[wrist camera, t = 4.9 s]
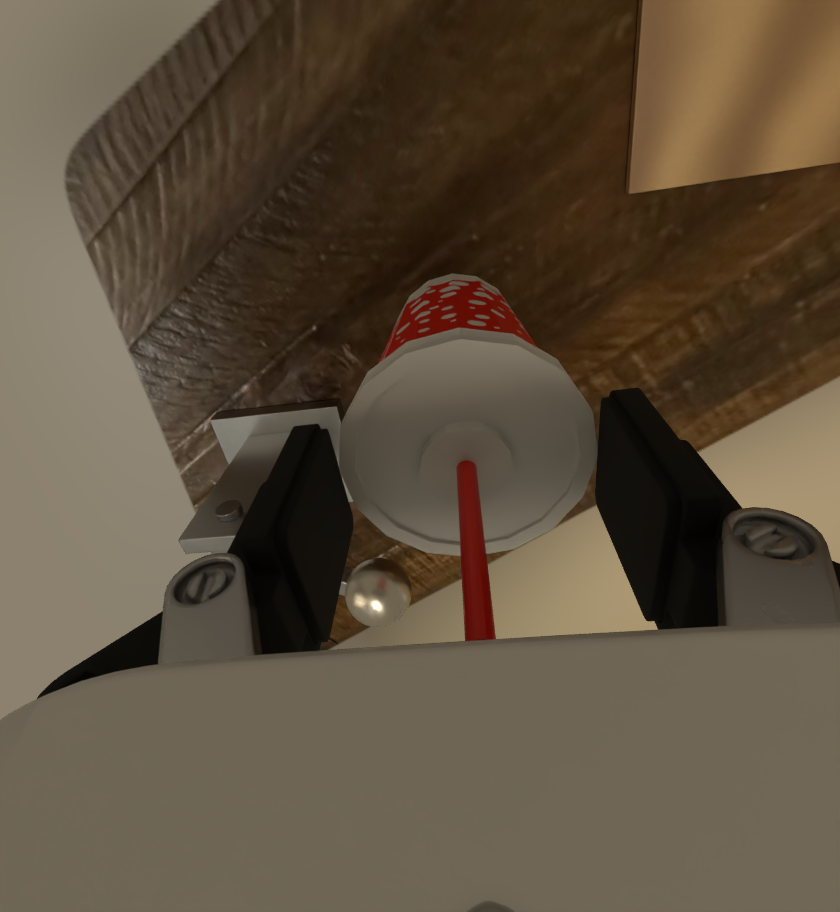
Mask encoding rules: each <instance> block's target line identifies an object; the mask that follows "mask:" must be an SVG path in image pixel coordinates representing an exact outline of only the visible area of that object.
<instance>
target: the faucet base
mask: <svg viewBox="0 0 840 912" xmlns="http://www.w3.org/2000/svg"><path fill="white" fill-rule="evenodd" d="M343 419H344V413H343V409H342V405H341V401H340V399H334V400H325V401H316V402H307V403H298V404H288V405H279V406H270V407H261V408H252V409H243V410H234V411H225V412H217V413H216V414H215V415H214V416H213V417H212V418H211V420H210V422H211V424H212V427H213V429H214V431H215V434H216V436H217V438H218V441H219V443H220V445H221V448H222V450H223V453H224V455H225V457H226V460H227V462H228V464H229V466H228V467H227V469H226V470H225V472H224V473H223V475H222V476H221V478H220V479H219V481H218V482H217V484H216V485H215V487H214V488H213V489H212V491H211V492H210V494H209V495H208V497H207V498H206V500H205V501H204V503H203V504H202V506H201V507H200V509H199V510H198V512H197V513H196V515H195V516H194V518H193V519H192V521H191V522H190V523H189V525H188V526H187V528H186V530H185V531H184V532H183V534H182V535H181V537H180V538H179V543H180V544H181V546H182V548H183V550H184V552H185V553H186V554H190V553H202V552H203V553H204V552H218V551H228V549H229V547H230V546H231V544H232V542H233V540H234V538H235V536H236V534H237V532H238V530H239V528H240V526H241V524H242V522H243V520H244V518H245V516H246V514H247V512H248V510H249V508H250V506H251V504H252V502H253V500H254V498H255V496H256V494H257V492H258V490H259V488H260V486H261V485H262V484H263V483H264V482H266V481H267V479H268V477H269V475H270V473H271V471H272V469H273V467H274V465H275V463H276V460H277V458H278V456H279V454H280V452H281V450H282V448H283V446H284V444H285V442H286V440H287V438H288V436H289V434H290V432H291V430H292V428H293V427H294V426H300V425H309V424H319V426H320V427H321V429H328V431H329V434H330V437H331V440H332V444H333V448H334V451H335V455H336V458H337V462H338V465H339V449H340V426H341V423H342V421H343ZM342 480H343V478H342ZM343 483H344V487H345V490H346V494H347V498H348V501H349V502H353V500H352V497H351V495H350V493H349V491H348V489H347V487H346V484H345V482H344V480H343Z"/></svg>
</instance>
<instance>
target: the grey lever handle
mask: <svg viewBox="0 0 840 912" xmlns="http://www.w3.org/2000/svg"><path fill="white" fill-rule="evenodd" d="M211 553H212V554H215V553H227V551H218V552H211ZM411 591H412V590H411V584H410V580H409V578H408V576H407V574H406V572H405V571H404V570H403V568H402V567H400V566H399V565H398V564H397V563H395V562H393V561H391V560H388V559H384V558H374V559H370V560H367V561H365V562H363V563H361V564H360V565H358V566H357V567H356V568H355V569H353V568H350V567H346V566H345V568H344V573H343V577H342V582H341V586H340V591H339V594H340V595H343V596H345V600H346V604H347V607H348V609H349V611H350V612H351V614H352V615H353V616H354V617H355V618H356V619H357V620H358V621H360V622H361V623H363V624H365V625H368V626H372V627H383V626H387V625H390V624H392V623H394V622H396V621H397V620H398V619H400V618H401V617H402V616H403V614H404V613H405V612H406V610H407V608H408V606H409V604H410V600H411Z"/></svg>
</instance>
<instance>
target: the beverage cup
mask: <svg viewBox="0 0 840 912" xmlns="http://www.w3.org/2000/svg"><path fill="white" fill-rule="evenodd" d="M597 457H598V452H597V443H596V434H595V426H594V417H593V411H592V410H591V408H590V406H589V405H588V403H587V402H586V400H585V399H584V397H583V396H582V394H581V393H580V392H579V390H578V389H577V387H576V386H575V384H574V383H573V381H572V380H571V378H570V377H569V376H568V374H567V373H566V371H565V370H564V368H563V367H562V366H561V364H560V363H559V361H558V360H557V359H556V358H554V357H553V356H551V355H549V354H547V353H546V352H544V351H542V350H540V349H539V348H537V346H536V345H535V343H534V342H533V340H532V339H531V337H530V336H529V334H528V333H527V331H526V330H525V328H524V327H523V326H522V324H521V323H520V321H519V320H518V318H517V317H516V315H515V314H514V312H513V311H512V309H511V308H510V306H509V305H508V303H507V302H506V300H505V299H504V298H503V296H502V295H501V293H500V292H499V290H498V289H497V288H495V287H494V286H492V285H490V284H488V283H487V282H485V281H483V280H482V279H480V278H478V277H477V276H468V275H460V274H449V275H446V276H442V277H439V278H435V279H432V280H429V281H427V282H426V283H425V284H424V285H422V286H421V287H420V288H419V289H418V290H416V291H415V292H414V293H413V294H411V295H410V296H409V298H408V300H407V302H406V304H405V306H404V308H403V310H402V311H401V313H400V315H399V317H398V320H397V322H396V324H395V326H394V329H393V331H392V333H391V336H390V338H389V340H388V343H387V345H386V347H385V350H384V352H383V354H382V357H381V359H380V361H379V363H378V365H376V366H375V367H374V368H372V369H371V370H370V371H368V372H367V374H366V376H365V378H364V380H363V382H362V384H361V386H360V387H359V389H358V391H357V393H356V395H355V397H354V399H353V401H352V403H351V405H350V406H349V408H348V410H347V413H346V415H345V417H344V419H343V421H342V423H341V426H340V449H339V469H340V473H341V476H342V478H343V480H344V482H345V484H346V487H347V489H348V491H349V493H350V495H351V497H352V500H353V502H354V504H355V506H356V508H357V509H358V510H359V511H360V512H362V513H363V514H364V515H365V516H366V517H367V518H368V519H369V520H370V521H371V522H372V523H374V524H375V525H376V526H377V527H378V528H379V529H380V530H381V531H382V532H383V533H384V534H386V535H387V536H389V537H391V538H393V539H396V540H398V541H401V542H403V543H405V544H408V545H410V546H412V547H415V548H417V549H419V550H422V551H424V552H427V553H436V554H446V555H456V556H461V570H462V589H463V609H464V626H465V641H475V640H492V639H496V636H495V627H494V618H493V609H492V601H491V592H490V583H489V574H488V565H487V556H486V554H489V553H494V552H500V551H505V550H510V549H515V548H517V547H519V546H520V545H522V544H524V543H526V542H528V541H530V540H532V539H534V538H536V537H538V536H540V535H541V534H543V533H545V532H547V531H549V530H551V529H553V528H554V527H555V526H556V525H557V524H558V523H559V522H560V521H561V520H562V519H563V518H564V516H565V515H566V514H567V513H568V512H569V511H570V510H571V509H572V508H573V507H574V506H575V505H576V504H577V503H578V502H579V500H580V499H581V498H582V497H583V496H584V493H585V490H586V488H587V485H588V482H589V479H590V477H591V474H592V471H593V468H594V466H595V463H596V460H597Z"/></svg>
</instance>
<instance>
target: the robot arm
mask: <svg viewBox="0 0 840 912" xmlns="http://www.w3.org/2000/svg"><path fill="white" fill-rule="evenodd" d="M595 497H596V503H597V507H598V509H599V512H600V514H601V516H602V519H603V521H604V524H605V526H606V528H607V531H608V533H609V535H610V538H611V540H612V543H613V545H614V547H615V549H616V552H617V554H618V557H619V559H620V561H621V564H622V566H623V569H624V571H625V573H626V576H627V578H628V580H629V583H630V585H631V587H632V590H633V592H634V595H635V597H636V599H637V602H638V604H639V606H640V608H641V611H642V613H643V616H644V618H645V619H646V620H647V621H655V623H656V626H657V628H658V630H644V631H627V632H610V633H592V634H574V635H557V636H541V637H525V638H510V639H509V638H508V639H492V640H475V641H459V642H444V643H428V644H413V645H397V646H381V647H367V648H352V649H337V650H323V651H319V650H320V645H321V642H327V641H328V640H329V637H330V633H331V628H332V623H333V619H334V614H335V609H336V605H337V600H338V596H339V591H340V586H341V582H342V577H343V573H344V568H345V563H346V559H347V554H348V549H349V545H350V540H351V536H352V531H353V516H352V512H351V508H350V505H349V501H348V498H347V494H346V490H345V487H344V483H343V480H342V476H341V473H340V469H339V465H338V462H337V458H336V455H335V451H334V448H333V444H332V440H331V437H330V434H329V431H328V429H321V427H320V426H319V424H309V425H300V426H294V427H293V428H292V430H291V432H290V434H289V436H288V438H287V440H286V442H285V444H284V446H283V448H282V450H281V452H280V454H279V456H278V458H277V460H276V463H275V465H274V467H273V469H272V471H271V473H270V475H269V477H268V479H267V481H266V482H264V483H263V484H262V485H261V486H260V488H259V490H258V492H257V494H256V496H255V498H254V500H253V502H252V504H251V506H250V508H249V510H248V512H247V514H246V516H245V518H244V520H243V522H242V524H241V526H240V528H239V530H238V532H237V534H236V536H235V538H234V540H233V542H232V544H231V546H230V547H229V549H228V551H227V553H215V554H211V555H207V556H204V557H201V558H199V559H197V560H195V561H193V562H191V563H190V564H188V565H187V566H185V567H184V568H182V569H181V570H180V571H179V572H178V573H177V574H176V575H175V576H174V577H173V578H172V580H171V581H170V582H169V584H168V585H167V589H166V592H165V596H164V607H163V611H162V612H161V613H159V614H158V615H156V616H154V617H153V618H151V619H150V620H148V621H146V622H145V623H143V624H142V625H140V626H138V627H137V628H135V629H134V630H132V631H130V632H129V633H127V634H126V635H124V636H122V637H121V638H119V639H118V640H116V641H115V642H113V643H111V644H110V645H108V646H106V647H105V648H103V649H102V650H100V651H99V652H97V653H95V654H94V655H92V656H91V657H89V658H88V659H86V660H84V661H83V662H81V663H79V664H78V665H76V666H75V667H73V668H71V669H70V670H68V671H67V672H65V673H64V674H63V675H61V676H60V677H58V678H57V679H56V680H54V681H53V682H52V683H51V684H50V685H49V686H48V687H47V688H46V689H45V690H44V691H43V692H42V693H41V694H40V695H39V696H38V698H37V699H36V700H34V701H32V702H30V703H28V704H26V705H24V706H22V707H21V708H19V709H17V710H15V711H14V712H12V713H10V714H8V715H7V716H5V717H4V718H2V719H1V720H0V912H840V564H839V563H836V562H834V561H832V560H831V556H830V553H829V550H828V546H827V543H826V541H825V539H824V538H823V536H822V534H821V533H820V532H819V531H818V530H817V529H816V528H815V527H813V526H812V525H811V524H809V523H808V522H806V521H804V520H803V519H801V518H799V517H797V516H794V515H792V514H789V513H786V512H784V511H779V510H774V509H770V508H757V507H752V508H745V509H742V507H741V506H740V505H739V504H738V502H737V501H736V500H735V499H734V497H733V496H732V495H731V494H730V492H729V491H728V490H727V489H726V488H725V486H724V485H723V484H722V483H721V481H720V480H719V479H718V478H717V477H716V475H715V474H714V473H713V471H712V470H711V469H710V468H709V467H708V465H707V464H706V463H705V462H704V460H703V459H702V458H701V457H700V456H699V454H698V453H697V452H696V450H695V449H694V448H693V447H692V445H691V444H690V443H689V442H687V441H686V440H680V439H679V438H678V437H677V436H676V434H675V433H674V432H673V430H672V429H671V428H670V427H669V425H668V424H667V423H666V422H665V420H664V419H663V418H662V416H661V415H660V414H659V413H658V411H657V410H656V409H655V408H654V406H653V405H652V404H651V402H650V401H649V400H648V399H647V397H646V396H645V395H644V394H643V392H642V391H641V390H640V389H639V388H631V389H622V390H613V391H611V392H610V395H609V397H607V398H603V399H602V401H601V409H600V425H599V441H598V457H597V473H596V489H595Z"/></svg>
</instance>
